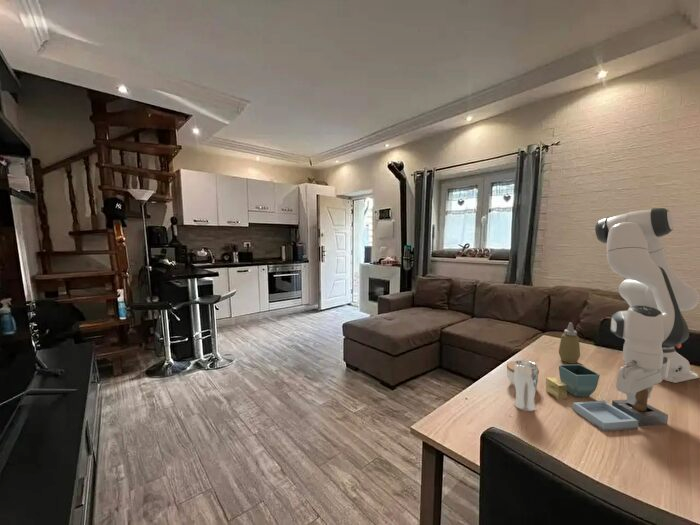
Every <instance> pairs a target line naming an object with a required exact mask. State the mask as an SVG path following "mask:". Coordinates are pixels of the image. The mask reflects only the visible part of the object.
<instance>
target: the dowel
mask: <svg viewBox="0 0 700 525" xmlns="http://www.w3.org/2000/svg"><path fill="white" fill-rule="evenodd" d="M635 398H636V399H637V403H636V404H634V405H631V408H633V409H635V410H637V411H639V412H647V404H648V399H649V398H648V388H646V389H644V390H641V391H639V392H637V393H636V395H635Z"/></svg>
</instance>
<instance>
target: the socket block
mask: <svg viewBox="0 0 700 525" xmlns="http://www.w3.org/2000/svg"><path fill="white" fill-rule="evenodd" d="M611 405H612V406H614V407H616V408H617V409H619V410H621V411H623V412H624V413H626V414H628V415H629V416H631V417H633V418H635V419H636V420H638V427H645V426H647V427H648V426H657V425H659V426H660V425H661V426H662V425H668V421H669V420H668V419H669V414H667V413H665V412H663V411H661V410H660V409H658V408H656V407H654V406H652V405H650V404H648V403H647V412H639V411H637V410H635V409H633V408H631V405H632V404H629V403H628V402H627V399H615V400H614V399H613V400H611Z"/></svg>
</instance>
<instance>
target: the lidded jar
mask: <svg viewBox="0 0 700 525" xmlns="http://www.w3.org/2000/svg"><path fill="white" fill-rule="evenodd" d="M515 361H516V360H514V361H509V362H507V363H506V374H507V375H506V376H507V378H508V380H509V382H510V383H511V384H512V385H513V387H514V388H515V382H514V367H515ZM539 373H540V369H539V368H538V375H539Z"/></svg>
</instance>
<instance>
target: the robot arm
mask: <svg viewBox="0 0 700 525" xmlns="http://www.w3.org/2000/svg"><path fill="white" fill-rule="evenodd" d="M674 226H675V217H674V215H673V214H672V213H671V212H670V210H669V209H667V208H665V207H654V208H651V209H643V210H642V209H641V210H635V211H629V212H627V213H623V214H617V215H614V216H610V217H608V216H607V217H605V218H602V219H599V220H598V221H597V222H596V223H595V226H594V227H595V228H594V232H595V233H594V234H595V236H596V239H597V241H599V242H600V243H603V244H606V261H607V266H608V267H609V269H610V270H611V271H613V273H615V274H617V275H619V276H620V277H623V278H624V280H623V281H622V282H621V283H620V284H619V287H618V293H619V295H620V297H621V298H623V300H625V302H626V303H627V304H628V306H629V307H628V309H627V310H618V311H616V312H615V313H613V314H612V315H611V316H610V323H609V324H610V325H609V330H610V332H611V333H612V334H613V335H615V336H616V337H617V338H620V339H624V343H623V345H622V346H623V348H622V361H623V362H624V365H623V366H621V367H619V370H618V373H617V377H616V386H615V388H616V390H617V391H618V392H620V393H623V394H624V395H626V400H627V402H628V403H629V404H632V405H634V404H636V403H637V399H636V398H635V395H636V393H637V392H639V391H641V390H644V389H646V388H648V399H650V398H651V393H652V391H653V389H654V386H655V385H658V384H660V383H662V381H666V382H669V383H673V384H676V383H681V382H686V381H690V380H695V379H699V375H698V373H696V372H694V371H692V370H691V365H690V361H689V360H688V359H687V358H685V357H684V356H683V355H681V354H679V353H678V352H677V351H676V349H680V348H682V344H683V343H685V342H686V341H687V340H688V339H689V338H690V330H689V326H688V324H687V322H686V320H685V318H684V316H683V314H682V312H683V311H684V312H686V311H692V310H693V309H694V308H695V307H697V305H698V304H699V302H700V295H699V292H698V290H697V289H696V288H695V287H693V286H691V285H689V284H688V283H687V282H685V281H684V280H683V279H681V277H679V276H678V275H677V274H676V273H675V271H674V270H673V268H672V267H671V265H670V263H669V261H668V258H667V254H666V251H665V247H664V244H663V240H662V237H663V236H664V237H665V236H667V235H669V234H670V233H671V232H672V231H673V230H674V229H673V228H674ZM625 278H626V279H625Z"/></svg>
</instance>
